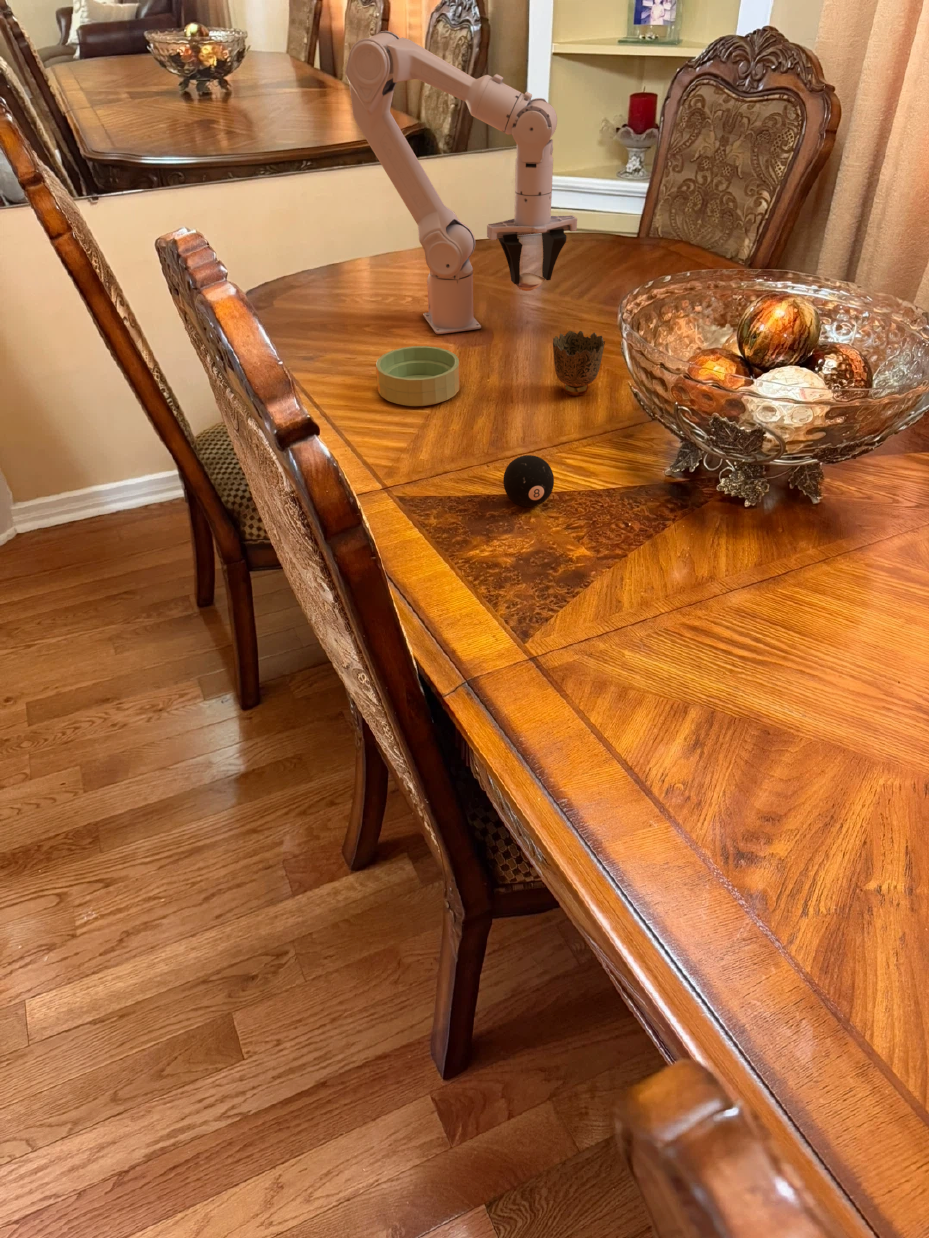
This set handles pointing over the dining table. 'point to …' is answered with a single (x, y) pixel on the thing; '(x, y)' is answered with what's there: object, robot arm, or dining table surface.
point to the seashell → (529, 281)
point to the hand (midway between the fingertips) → (530, 280)
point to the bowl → (418, 375)
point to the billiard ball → (528, 480)
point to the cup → (577, 360)
